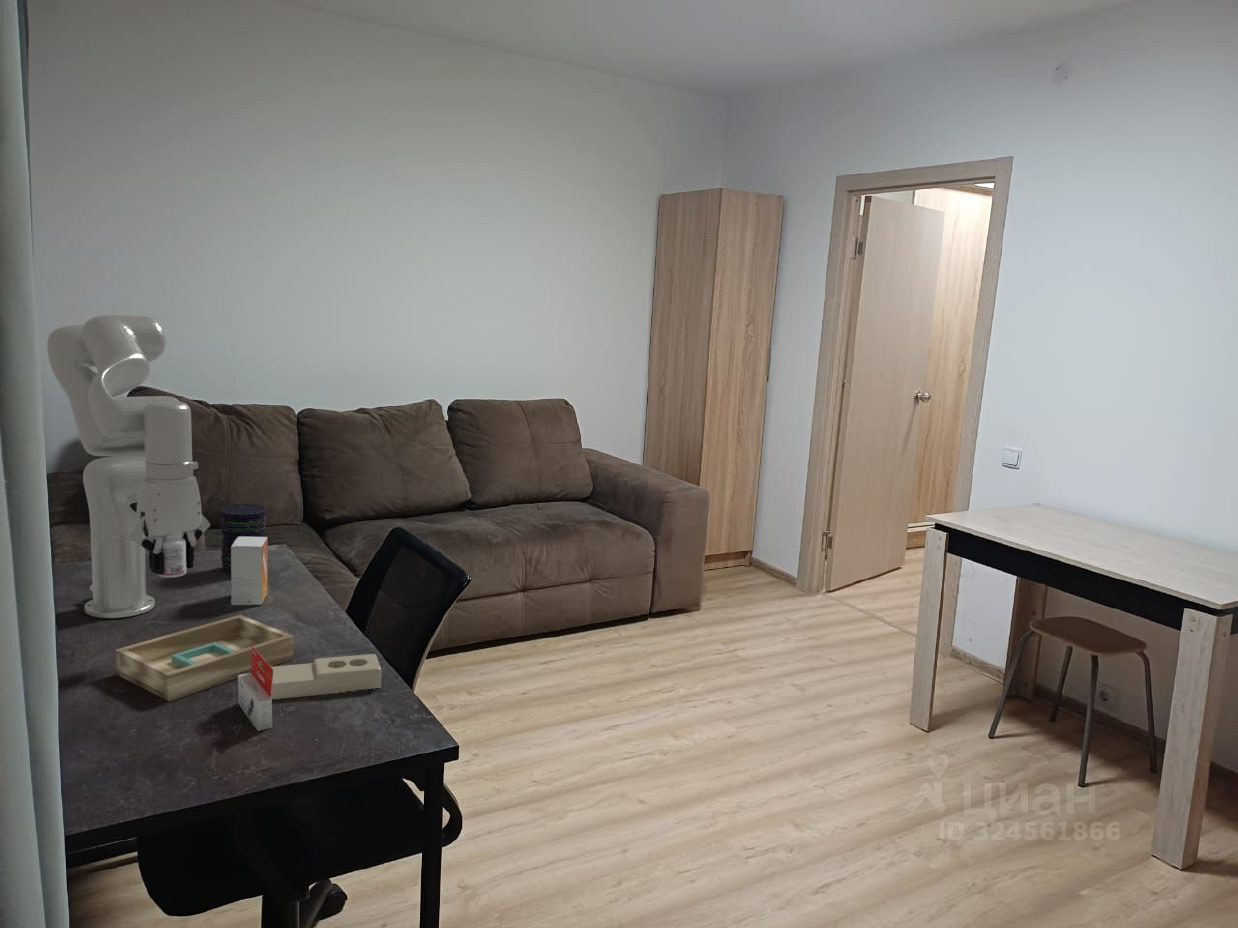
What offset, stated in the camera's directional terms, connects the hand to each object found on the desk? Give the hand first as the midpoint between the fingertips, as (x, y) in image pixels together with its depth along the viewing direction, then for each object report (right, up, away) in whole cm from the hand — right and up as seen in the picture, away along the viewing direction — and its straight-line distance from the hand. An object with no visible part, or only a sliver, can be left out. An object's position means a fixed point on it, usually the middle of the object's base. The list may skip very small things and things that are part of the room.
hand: (172, 568), depth 166 cm
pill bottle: (0, -1, 0) cm, 1 cm away
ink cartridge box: (+23, -22, -19) cm, 37 cm away
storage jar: (-8, -6, +51) cm, 52 cm away
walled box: (+8, -17, -3) cm, 19 cm away
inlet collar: (+8, -17, -3) cm, 19 cm away
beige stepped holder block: (+30, -20, -7) cm, 37 cm away
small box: (+1, -10, +32) cm, 34 cm away
